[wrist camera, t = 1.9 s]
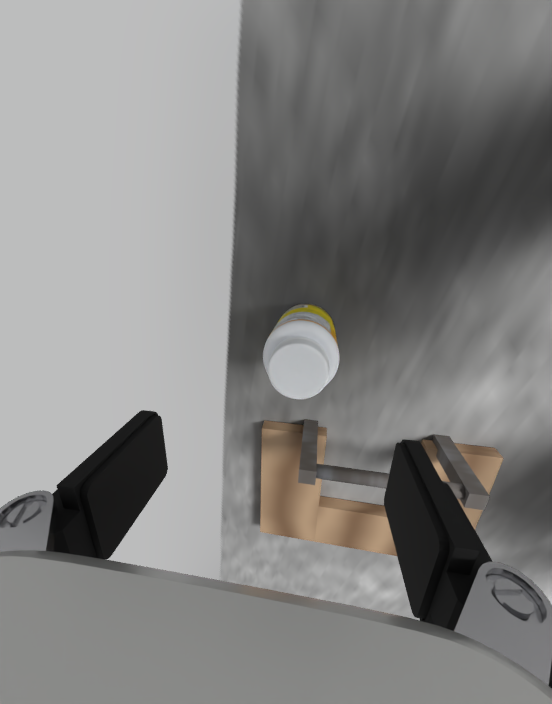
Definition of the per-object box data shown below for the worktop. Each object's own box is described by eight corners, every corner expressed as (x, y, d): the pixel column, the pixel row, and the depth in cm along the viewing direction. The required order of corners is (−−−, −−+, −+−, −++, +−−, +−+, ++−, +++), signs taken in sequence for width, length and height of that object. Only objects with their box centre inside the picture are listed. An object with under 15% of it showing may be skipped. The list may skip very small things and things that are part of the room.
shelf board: (496, 441, 28) (554, 505, 21) (454, 554, 34) (488, 632, 27) (264, 414, 31) (247, 462, 24) (262, 521, 37) (248, 583, 30)
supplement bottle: (317, 365, 28) (314, 424, 19) (269, 340, 28) (241, 386, 19) (346, 319, 26) (359, 358, 17) (294, 291, 26) (278, 315, 16)
